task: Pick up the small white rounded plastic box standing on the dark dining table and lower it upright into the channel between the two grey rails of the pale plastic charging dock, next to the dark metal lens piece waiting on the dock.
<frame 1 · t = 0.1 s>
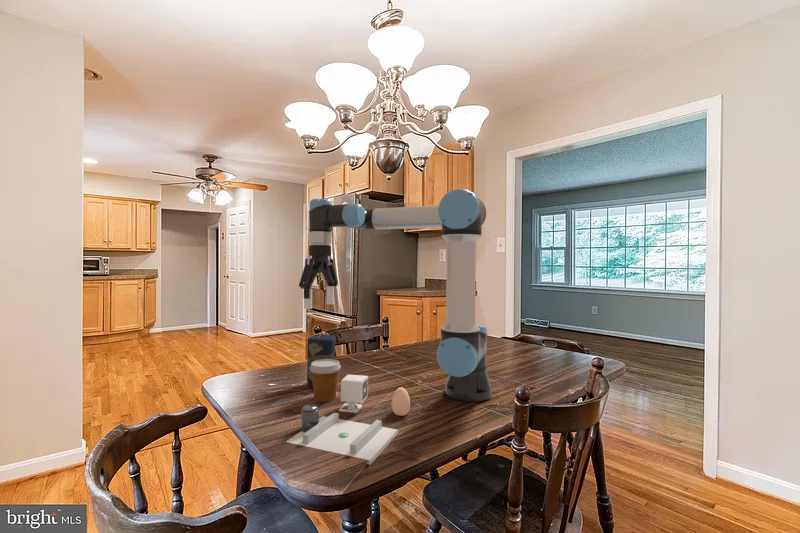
hand: (319, 306, 131), 28 cm above the table, fingers open, 13 cm apart
dock: (343, 439, 93), on the table
egg: (400, 417, 106), on the table
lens: (310, 428, 96), point 1 cm above the table, touching dock
canister: (320, 385, 133), on the table
white rounded plastic box: (353, 412, 110), on the table
disposable coffee cup: (325, 401, 118), on the table
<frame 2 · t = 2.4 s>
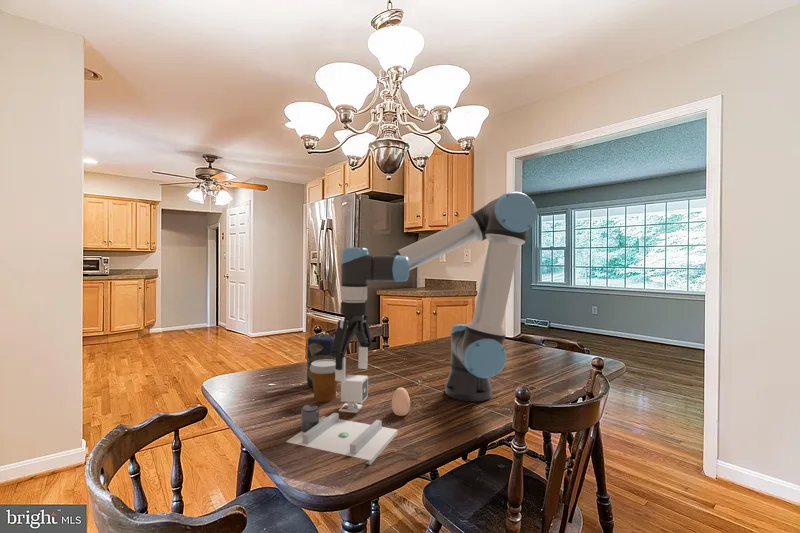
hand: (352, 374, 109), 11 cm above the table, fingers open, 13 cm apart
nothing on the table moved.
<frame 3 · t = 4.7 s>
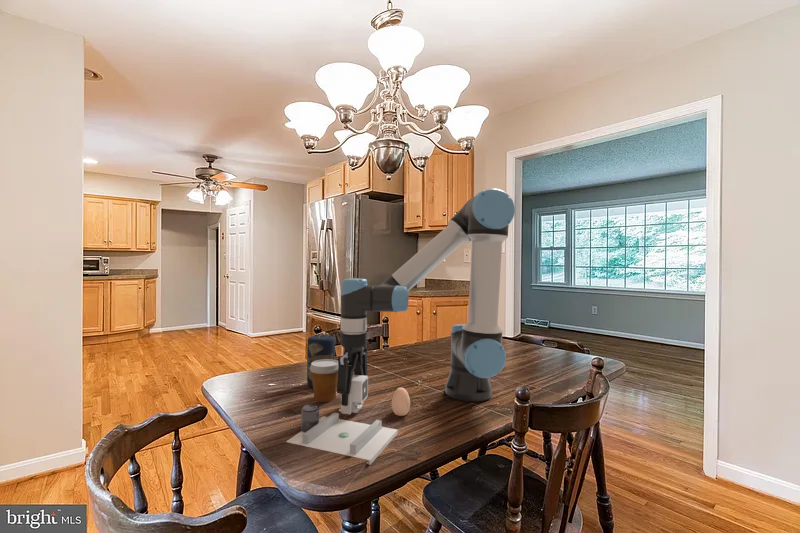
hand: (352, 410, 110), 0 cm above the table, fingers closed on white rounded plastic box, 7 cm apart
white rounded plastic box: (353, 412, 110), on the table, touching gripper
everything else where it was.
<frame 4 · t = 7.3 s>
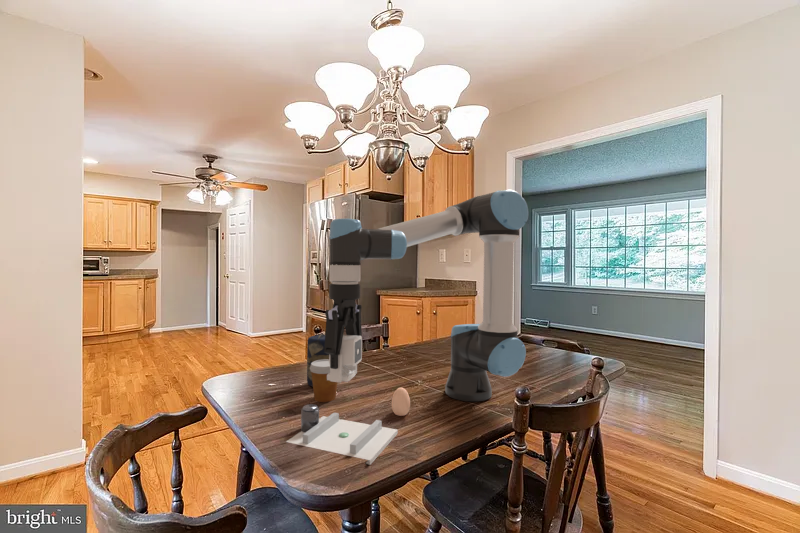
hand: (344, 376, 92), 15 cm above the table, fingers closed on white rounded plastic box, 7 cm apart
white rounded plastic box: (344, 378, 92), point 15 cm above the table, touching gripper
everything else where it was.
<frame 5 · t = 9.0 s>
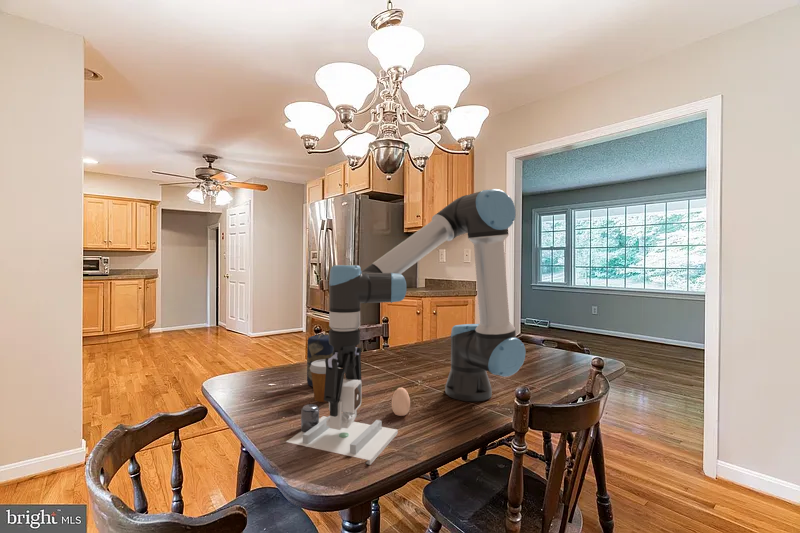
hand: (343, 422, 92), 4 cm above the table, fingers closed on white rounded plastic box, 7 cm apart
white rounded plastic box: (343, 423, 92), point 4 cm above the table, touching gripper
everything else where it was.
when the fingers open (3 cm above the table, at t = 10.1 s): white rounded plastic box drops 1 cm, resting on dock.
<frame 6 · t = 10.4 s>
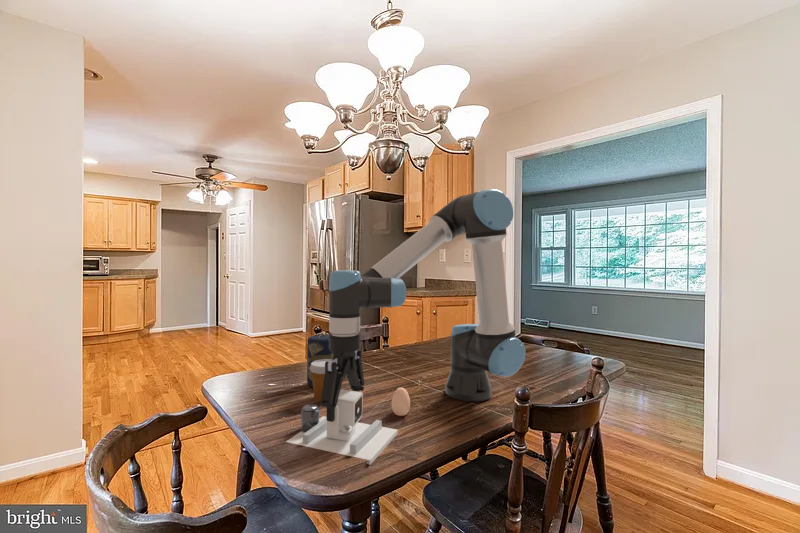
hand: (343, 424, 93), 4 cm above the table, fingers open, 10 cm apart
white rounded plastic box: (344, 435, 93), point 1 cm above the table, touching dock
everything else where it was.
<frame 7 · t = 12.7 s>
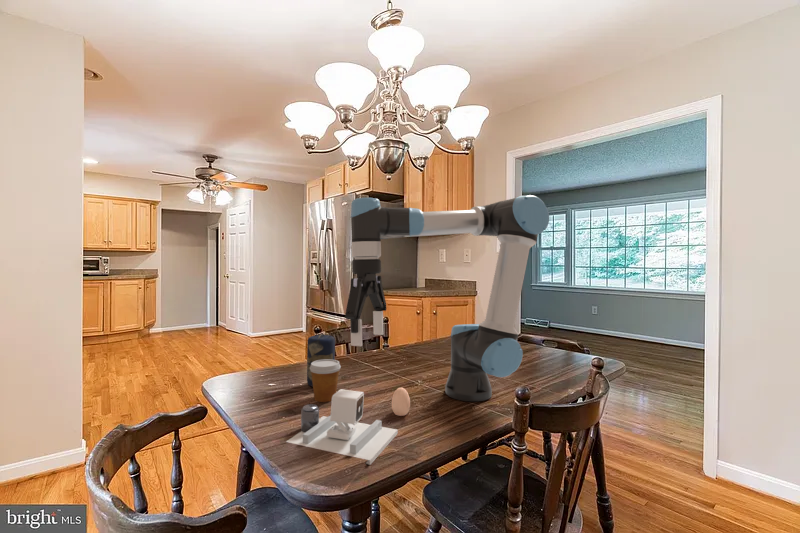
hand: (368, 339, 99), 23 cm above the table, fingers open, 13 cm apart
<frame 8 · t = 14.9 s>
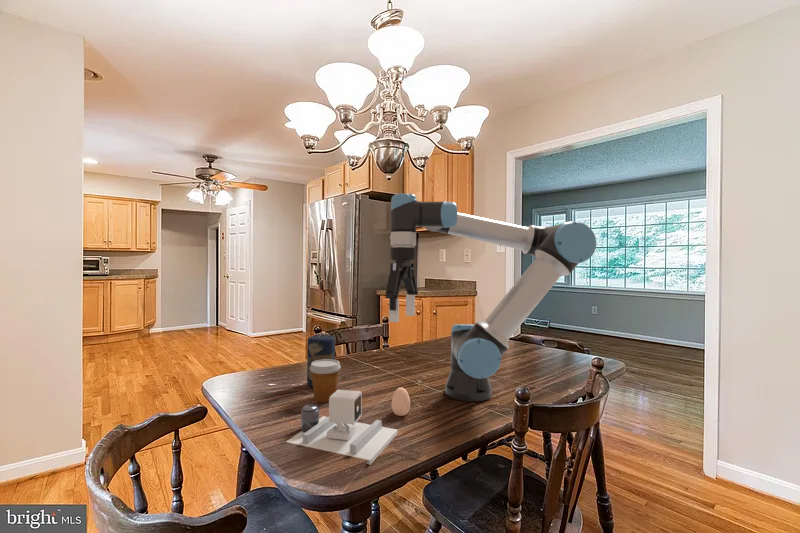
hand: (402, 318, 112), 27 cm above the table, fingers open, 13 cm apart
nothing on the table moved.
at the end: white rounded plastic box inside the target area on the dock (0.1 cm from its centre), point 1.0 cm above the dock's base; white rounded plastic box tilted 1°; the gripper is holding nothing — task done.
